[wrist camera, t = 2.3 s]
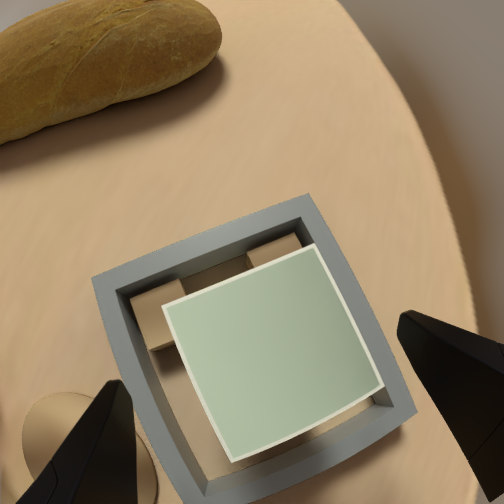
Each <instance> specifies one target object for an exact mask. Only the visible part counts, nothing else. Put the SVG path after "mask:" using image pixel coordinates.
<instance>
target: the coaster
mask: <svg viewBox="0 0 504 504" xmlns="http://www.w3.org/2000/svg"><path fill="white" fill-rule="evenodd" d="M93 400H94V399H93V398H91V397H88V396H85V395H81V394H77V393H57V394H52V395H49V396H46V397H44V398H42V399H41V400H39V401H38V402H37V403H36V404H34V405H33V407H32V408H31V409H30V411H29V412H28V414H27V416H26V418H25V421H24V425H23V430H22V447H23V453H24V457H25V460H26V464H27V466H28V469H29V471H30V473H31V475H32V477H33V479H34V481H35V480H36V479H37V477H38V476H39V474H40V473H41V472H42V470H43V469H44V468H45V466H46V465H47V463H48V462H49V460H51V458H52V456H53V455H54V453H55V452H56V451H57V449H58V448H59V446H60V445H61V444H62V442H63V441H64V439H65V438H66V437H67V435H68V434H69V432H70V431H71V430H72V428H73V427H74V426H75V424H76V423H77V421H78V420H79V419H80V417H81V416H82V415H83V413H84V412H85V411H86V409H87V408H88V406H89V405H90V404H91V402H92V401H93ZM135 433H136V443H137V491H138V504H154V501H155V498H156V493H157V476H156V471H155V467H154V464H153V460H152V458H151V456H150V454H149V451H148V449H147V448H146V446H145V444H144V442H143V441H142V439H141V438H140V437H139V435H138V434H137V432H136V431H135Z"/></svg>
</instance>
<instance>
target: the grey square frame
mask: <svg viewBox="0 0 504 504" xmlns="http://www.w3.org/2000/svg"><path fill="white" fill-rule="evenodd" d="M292 233H295V235H296V237H297V238H298V240H299V242H300V244H301V246H302V248H304V247H306V246H309V245H311V244H313V243H315V245H316V247H317V248H318V250H319V252H320V254H321V256H322V258H323V260H324V262H325V263H326V265H327V267H328V269H329V271H330V273H331V275H332V277H333V279H334V281H335V283H336V285H337V287H338V289H339V291H340V293H341V294H342V296H343V298H344V300H345V302H346V304H347V306H348V308H349V311H350V313H351V315H352V317H353V319H354V321H355V323H356V325H357V327H358V329H359V331H360V333H361V335H362V337H363V339H364V342H365V344H366V346H367V348H368V350H369V352H370V354H371V357H372V359H373V361H374V363H375V365H376V367H377V370H378V372H379V374H380V376H381V379H382V381H383V383H384V385H385V386H384V387H383V388H381V389H380V390H378V391H377V392H375V393H373V394H372V397H373V399H374V401H375V404H374V405H372V406H371V407H369V408H367V409H366V410H364V411H363V412H361V413H359V414H358V415H356V416H354V417H353V418H351V419H349V420H347V421H346V422H344V423H342V424H340V425H339V426H337V427H335V428H333V429H331V430H329V431H327V432H326V433H324V434H322V435H320V436H318V437H316V438H314V439H312V440H310V441H308V442H306V443H304V444H302V445H300V446H298V447H295V448H293V449H291V450H289V451H287V452H285V453H282V454H280V455H278V456H275V457H273V458H271V459H268V460H266V461H264V462H261V463H259V464H256V465H254V466H251V467H248V468H246V469H243V470H240V471H238V472H235V473H232V474H229V475H226V476H223V477H220V478H217V479H214V480H211V481H208V480H207V478H206V476H205V475H204V473H203V471H202V469H201V467H200V466H199V464H198V462H197V460H196V458H195V456H194V454H193V453H192V451H191V449H190V447H189V445H188V443H187V441H186V439H185V437H184V435H183V433H182V431H181V429H180V427H179V425H178V422H177V420H176V418H175V416H174V414H173V412H172V409H171V407H170V405H169V403H168V401H167V398H166V396H165V394H164V391H163V389H162V387H161V384H160V382H159V380H158V377H157V375H156V372H155V370H154V367H153V365H152V362H151V360H150V357H149V354H148V352H147V349H146V346H145V344H144V341H143V338H142V336H141V333H140V330H139V327H138V324H137V321H136V318H135V315H134V312H133V309H132V306H131V303H130V298H133V297H135V296H138V295H140V294H142V293H145V292H147V291H150V290H152V289H154V288H157V287H159V286H161V285H164V284H166V283H169V282H171V281H173V280H176V279H178V278H179V280H180V279H183V278H185V277H188V276H190V275H193V274H195V273H198V272H200V271H203V270H205V269H208V268H210V267H213V266H215V265H218V264H220V263H223V262H225V261H228V260H230V259H233V258H235V257H238V256H240V255H243V254H245V253H247V252H248V251H251V250H253V249H255V248H258V247H260V246H263V245H265V244H267V243H270V242H272V241H275V240H277V239H280V238H282V237H284V236H287V235H289V234H292ZM91 279H92V283H93V287H94V291H95V295H96V299H97V302H98V306H99V310H100V313H101V316H102V320H103V323H104V327H105V330H106V333H107V336H108V339H109V342H110V345H111V348H112V351H113V354H114V357H115V360H116V363H117V365H118V368H119V371H120V374H121V376H122V379H123V382H124V384H125V387H126V389H127V390H128V392H129V394H130V395H131V397H132V401H133V406H134V408H135V411H136V413H137V415H138V418H139V420H140V422H141V424H142V426H143V429H144V431H145V433H146V435H147V437H148V439H149V441H150V443H151V445H152V447H153V449H154V451H155V453H156V455H157V457H158V459H159V461H160V463H161V465H162V467H163V468H164V470H165V472H166V474H167V476H168V478H169V479H170V481H171V483H172V485H173V486H174V488H175V490H176V491H177V493H178V495H179V496H180V498H181V500H182V501H183V503H184V504H248V503H251V502H254V501H256V500H259V499H262V498H264V497H267V496H270V495H272V494H275V493H277V492H280V491H282V490H284V489H287V488H289V487H291V486H294V485H296V484H298V483H300V482H302V481H305V480H307V479H309V478H311V477H313V476H315V475H317V474H319V473H321V472H323V471H325V470H327V469H329V468H331V467H333V466H335V465H337V464H338V463H340V462H342V461H344V460H346V459H347V458H349V457H351V456H353V455H354V454H356V453H358V452H360V451H361V450H363V449H365V448H366V447H368V446H369V445H371V444H373V443H374V442H376V441H377V440H379V439H380V438H382V437H383V436H385V435H387V434H388V433H389V432H391V431H392V430H394V429H395V428H397V427H398V426H400V425H401V424H402V423H404V422H405V421H407V420H408V419H409V418H411V417H412V416H413V415H415V414H416V413H417V409H416V407H415V404H414V402H413V399H412V397H411V395H410V392H409V390H408V387H407V385H406V383H405V380H404V378H403V376H402V373H401V371H400V369H399V366H398V364H397V362H396V360H395V357H394V355H393V353H392V351H391V349H390V346H389V344H388V342H387V340H386V338H385V336H384V333H383V331H382V329H381V327H380V325H379V323H378V321H377V319H376V317H375V315H374V313H373V311H372V309H371V307H370V305H369V303H368V301H367V299H366V297H365V295H364V293H363V291H362V289H361V287H360V285H359V283H358V281H357V279H356V277H355V275H354V273H353V271H352V269H351V268H350V266H349V264H348V262H347V260H346V258H345V256H344V254H343V253H342V251H341V249H340V247H339V245H338V244H337V242H336V240H335V238H334V236H333V235H332V233H331V231H330V229H329V227H328V226H327V224H326V222H325V220H324V219H323V217H322V215H321V213H320V212H319V210H318V208H317V207H316V205H315V203H314V202H313V200H312V198H311V196H310V195H309V193H307V194H305V195H302V196H299V197H296V198H293V199H290V200H288V201H285V202H282V203H279V204H277V205H274V206H271V207H268V208H266V209H263V210H260V211H257V212H255V213H252V214H249V215H247V216H244V217H241V218H239V219H236V220H233V221H231V222H228V223H225V224H223V225H220V226H217V227H215V228H212V229H210V230H207V231H204V232H202V233H199V234H197V235H194V236H192V237H189V238H187V239H184V240H181V241H179V242H176V243H174V244H171V245H169V246H166V247H164V248H161V249H159V250H156V251H154V252H152V253H149V254H147V255H144V256H142V257H139V258H137V259H134V260H132V261H130V262H127V263H125V264H122V265H120V266H118V267H115V268H113V269H110V270H108V271H106V272H103V273H101V274H99V275H96V276H94V277H92V278H91Z"/></svg>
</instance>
